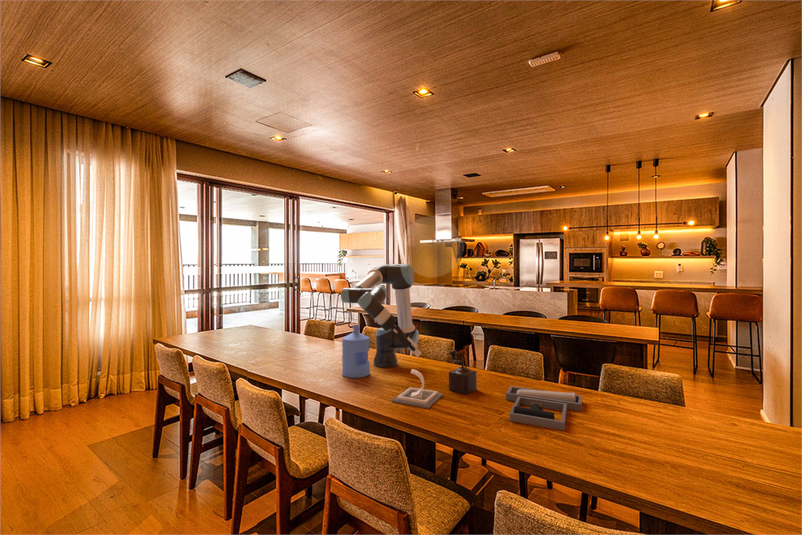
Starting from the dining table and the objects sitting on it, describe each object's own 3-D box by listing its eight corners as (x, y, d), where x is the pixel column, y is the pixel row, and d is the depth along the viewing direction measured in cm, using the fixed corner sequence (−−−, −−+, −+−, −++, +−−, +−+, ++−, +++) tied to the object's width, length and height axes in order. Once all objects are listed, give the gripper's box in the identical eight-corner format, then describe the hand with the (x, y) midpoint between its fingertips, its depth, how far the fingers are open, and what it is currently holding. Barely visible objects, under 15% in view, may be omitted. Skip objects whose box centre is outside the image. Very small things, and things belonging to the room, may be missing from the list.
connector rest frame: (518, 402, 170) (518, 396, 169) (566, 410, 161) (566, 403, 161) (509, 420, 150) (509, 413, 150) (564, 430, 141) (564, 422, 141)
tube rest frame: (510, 392, 184) (510, 386, 184) (581, 402, 170) (581, 395, 170) (506, 399, 173) (506, 393, 173) (581, 411, 160) (581, 404, 160)
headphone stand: (411, 394, 178) (411, 369, 178) (424, 394, 177) (424, 369, 177) (410, 397, 174) (410, 371, 174) (423, 398, 173) (423, 372, 173)
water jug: (337, 377, 209) (337, 327, 208) (349, 369, 224) (349, 322, 223) (363, 379, 204) (363, 328, 204) (373, 371, 219) (373, 323, 219)
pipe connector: (518, 398, 161) (555, 404, 154) (518, 410, 161) (555, 416, 155) (513, 408, 151) (553, 414, 144) (513, 421, 151) (553, 428, 144)
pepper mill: (478, 389, 188) (478, 353, 188) (466, 395, 180) (466, 357, 180) (452, 382, 199) (452, 348, 198) (439, 387, 190) (439, 352, 190)
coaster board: (408, 389, 187) (408, 385, 187) (442, 395, 179) (442, 390, 179) (391, 402, 171) (391, 397, 171) (428, 408, 163) (428, 403, 163)
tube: (516, 393, 171) (575, 398, 164) (516, 386, 176) (573, 390, 169) (516, 403, 173) (575, 408, 166) (516, 395, 178) (573, 400, 171)
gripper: (379, 321, 186) (409, 351, 187) (380, 330, 161) (415, 364, 162) (389, 310, 186) (419, 340, 188) (392, 317, 161) (427, 352, 163)
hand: (417, 351), depth 175 cm, fingers open, 13 cm apart
